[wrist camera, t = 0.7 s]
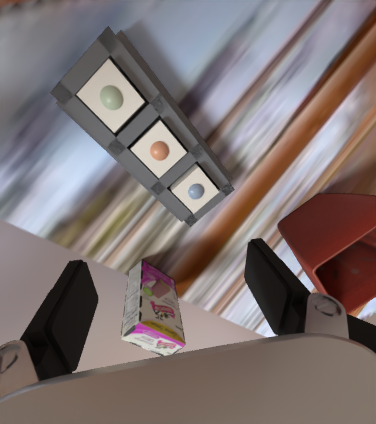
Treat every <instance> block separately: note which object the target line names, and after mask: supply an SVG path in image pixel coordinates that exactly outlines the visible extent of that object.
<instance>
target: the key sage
mask: <svg viewBox="0 0 376 424" xmlns="http://www.w3.org/2000/svg"><path fill="white" fill-rule="evenodd" d="M76 95H77V96H78V97H79V98H80V99H81V100H82V101H83V102H84V103H85V104H86V105H87V106H88V107H89V108H90V109H91V110H92V111H93V112H94V113H95V114H96V115H97V116H98V117H99V118H100V119H101V120H102V121H103V122H104V123H105V124H106V125H107V126H108V127H109V128H110V129H111V130H112V131H113V132H114V133H115V132H117V131H118V130H119V129H120V128H121V127H122V126H123V125H124V124H125V123H126V122H127V121H128V120H129V119H130V118H131V117H132V116H133V115H134V114H135V113H136V112H137V111H138V110H139V109H140V108H141V107H142V106H143V105H144V104H145V102H144V100H143V99H142V98H141V97H140V95H139V94H138V93H137V92H136V91H135V89H134V88H133V87H132V86H131V85H130V83H129V82H128V81H127V80H126V79H125V77H124V76H123V75H122V74H121V73H120V71H119V70H118V69H117V68H116V67H115V65H114V64H113V63H112V62H111V60H110V59H108V60H107V61H106V62H105V63H104V64H103V65H102V66H101V68H100V69H99V70H98V71H97V72H96V73H95V74H94V75H93V76H92V78H91V79H90V80H89V81H88V82H87V83H86V84H85V85H84V86H83V88H82V89H81V90H80V91H79V92H78V93H77V94H76Z"/></svg>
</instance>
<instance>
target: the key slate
mask: <svg viewBox="0 0 376 424" xmlns="http://www.w3.org/2000/svg"><path fill="white" fill-rule="evenodd" d="M170 188H171V191H172V192H173V193H174V194H175V195H176V196H177V197H178V198H179V199H180V200H181V201H182V202H183V203H184V204H185V205H186V206H187V207H188V208H189V209H190V210H191V211H192V212H193V214H194V213H195V212H197V211H198V210H199V209H200V208H201V207H202V206H204V205H205V204H206V203H207V202H208V201H209V200H211V199H212V198H213V197H214V196H215V195H216V194H218V193H219V191H218V190H217V188H216V187H215V186H214V185H213V184H212V182H211V181H210V180H209V179H208V178H207V176H206V175H205V174H204V173H203V172H202V170H201V169H200V168H199V167H198V166H197V165H196V164H195V163H194V164H193V165H192V166H191V167H190V168H189V169H188V170H187V171H185V172H184V173H183V174H182V175H181V176H180V177H179V178H178V179H177V180H175V181H174V182H173V183H172V184H171V185H170Z"/></svg>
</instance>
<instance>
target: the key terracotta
mask: <svg viewBox="0 0 376 424" xmlns="http://www.w3.org/2000/svg"><path fill="white" fill-rule="evenodd" d="M130 150H131V151H132V152H133V153H134V154H135V155H136V156H137V157H138V158H139V159H140V160H141V161H142V162H143V163H144V164H145V165H146V166H147V167H148V168H149V169H150V170H151V171H152V172H153V173H154V174H155V175H156V176H157V177H158V178H160V177H161V176H162V175H163V174H164V173H165V172H167V171H168V170H169V169H170V168H171V167H172V166H173V165H174V164H175V163H176V162H177V161H178V160H180V159H181V158H182V157H183V156H184V155H185V154H186V153H187V152H186V151H185V150H184V149H183V147H182V146H181V145H180V144H179V143H178V141H177V140H176V139H175V138H174V137H173V135H172V134H171V133H170V132H169V130H168V129H167V128H166V127H165V126H164V124H163V123H162V122H161V121H160V120H159V121H158V122H157V123H156V124H155V125H154V126H153V127H152V128H151V129H150V130H149V131H148V132H146V133H145V134H144V135H143V136H142V137H141V138H140V139H139V140H138V141H137V142H136V143H135V144H134V145H133V146H132V148H131V149H130Z"/></svg>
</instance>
